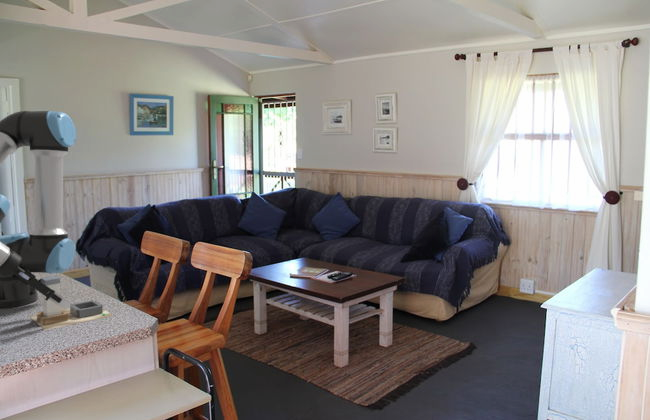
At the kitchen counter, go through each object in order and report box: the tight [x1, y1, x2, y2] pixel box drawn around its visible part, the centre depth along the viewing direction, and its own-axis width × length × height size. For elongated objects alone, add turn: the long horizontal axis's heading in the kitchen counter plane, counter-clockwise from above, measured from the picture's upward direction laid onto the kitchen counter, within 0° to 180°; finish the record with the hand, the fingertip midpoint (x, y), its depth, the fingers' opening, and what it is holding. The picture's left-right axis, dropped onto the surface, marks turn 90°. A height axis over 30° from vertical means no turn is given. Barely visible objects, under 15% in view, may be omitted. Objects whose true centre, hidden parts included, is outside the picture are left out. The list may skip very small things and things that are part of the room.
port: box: [69, 299, 106, 318], centre depth 177 cm, size 10×8×2 cm
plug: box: [40, 275, 62, 317], centre depth 170 cm, size 4×4×13 cm
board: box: [29, 308, 115, 331], centre depth 175 cm, size 16×20×1 cm
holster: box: [36, 308, 69, 325], centre depth 171 cm, size 7×7×2 cm
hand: (62, 302), depth 173 cm, fingers open, 10 cm apart
